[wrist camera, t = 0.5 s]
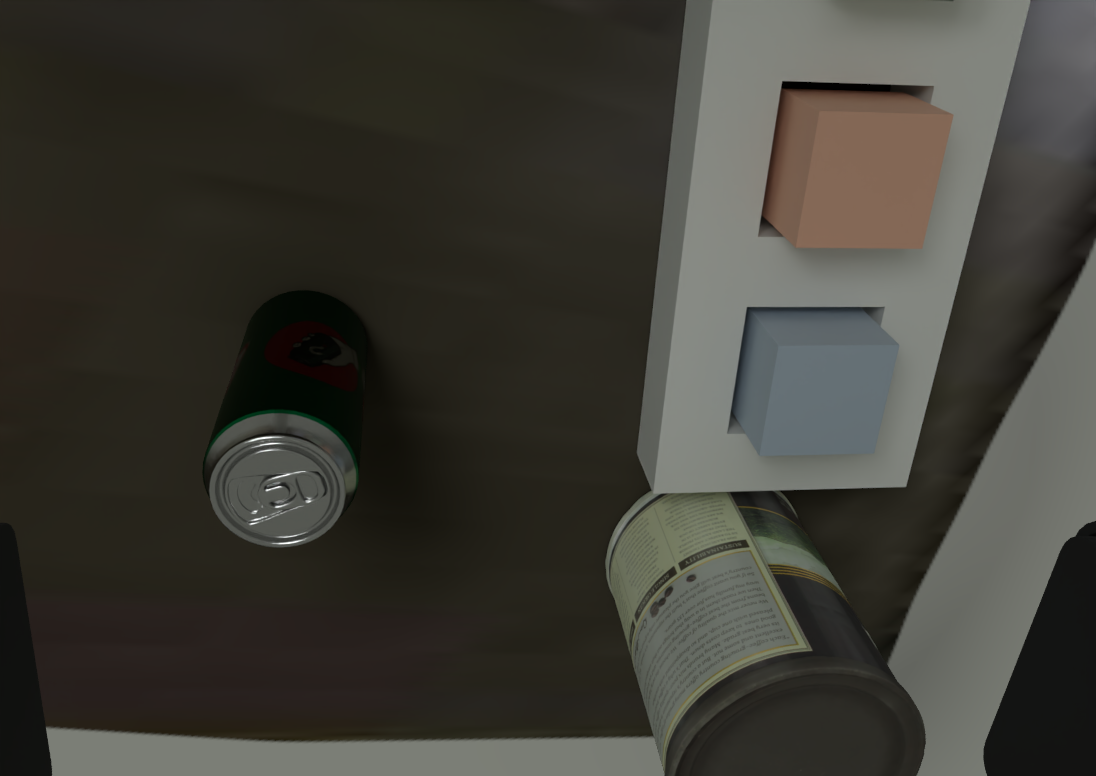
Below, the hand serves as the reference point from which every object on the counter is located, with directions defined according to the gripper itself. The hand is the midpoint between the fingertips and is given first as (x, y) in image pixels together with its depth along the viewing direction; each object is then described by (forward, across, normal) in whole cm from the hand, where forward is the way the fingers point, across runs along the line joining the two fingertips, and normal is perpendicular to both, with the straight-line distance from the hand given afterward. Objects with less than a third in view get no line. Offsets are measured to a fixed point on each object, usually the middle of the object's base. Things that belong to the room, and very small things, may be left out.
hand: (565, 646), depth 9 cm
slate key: (+31, -16, +11) cm, 37 cm away
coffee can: (+34, -14, +23) cm, 43 cm away
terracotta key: (+31, -16, +2) cm, 35 cm away
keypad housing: (+33, -16, +2) cm, 37 cm away
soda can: (+34, +5, +12) cm, 36 cm away
